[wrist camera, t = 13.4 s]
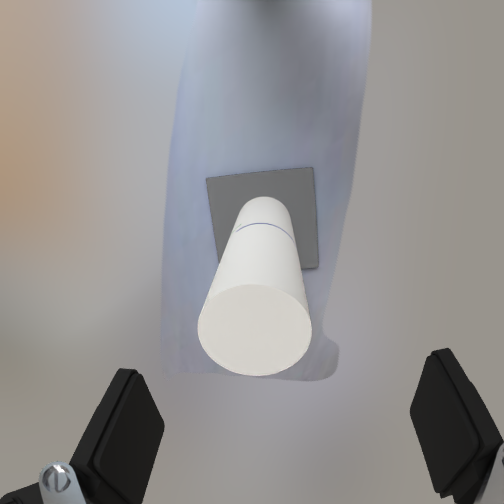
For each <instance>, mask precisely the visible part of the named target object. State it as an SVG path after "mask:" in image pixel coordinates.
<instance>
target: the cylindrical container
mask: <svg viewBox="0 0 504 504" xmlns="http://www.w3.org/2000/svg"><path fill="white" fill-rule="evenodd" d="M311 335H312V328H311V320H310V315H309V309H308V304H307V298H306V293H305V287H304V282H303V277H302V272H301V267H300V262H299V257H298V252H297V247H296V242H295V237H294V232H293V227H292V223H291V218H290V214H289V212H288V210H287V208H286V207H285V206H284V205H283V204H282V203H281V202H280V201H278V200H276V199H274V198H271V197H257V198H254V199H252V200H250V201H248V202H247V203H246V204H245V205H244V206H243V207H242V209H241V211H240V213H239V215H238V218H237V220H236V223H235V225H234V228H233V230H232V233H231V235H230V238H229V240H228V243H227V246H226V248H225V251H224V253H223V256H222V258H221V261H220V264H219V266H218V269H217V271H216V274H215V277H214V279H213V282H212V285H211V287H210V290H209V292H208V295H207V298H206V300H205V303H204V306H203V308H202V311H201V314H200V316H199V321H198V336H199V339H200V342H201V345H202V347H203V348H204V350H205V352H206V353H207V354H208V355H209V356H210V358H211V359H213V360H214V361H215V362H216V363H217V364H219V365H220V366H222V367H224V368H226V369H227V370H230V371H233V372H235V373H238V374H243V375H249V376H263V375H270V374H275V373H278V372H281V371H283V370H285V369H287V368H289V367H291V366H292V365H294V364H295V363H296V362H297V361H298V360H299V359H301V358H302V356H303V355H304V353H305V352H306V351H307V349H308V346H309V344H310V341H311Z"/></svg>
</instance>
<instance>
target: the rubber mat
mask: <svg viewBox="0 0 504 504" xmlns="http://www.w3.org/2000/svg"><path fill="white" fill-rule="evenodd" d="M206 184H207V190H208V197H209V204H210V210H211V217H212V223H213V229H214V236H215V242H216V248H217V254H218V260H219V264H220V261H221V258H222V256H223V253H224V251H225V248H226V246H227V243H228V240H229V238H230V235H231V233H232V230H233V228H234V225H235V223H236V220H237V218H238V215H239V213H240V211H241V209H242V207H243V206H244V205H245V204H246V203H247V202H248V201H250V200H252V199H254V198H257V197H271V198H274V199H276V200H278V201H280V202H281V203H282V204H283V205H284V206H285V207H286V208H287V210H288V212H289V214H290V218H291V223H292V227H293V232H294V237H295V242H296V247H297V252H298V257H299V262H300V267H301V269H305V268H317V267H318V243H317V224H316V207H315V192H314V179H313V168H312V167H310V168H297V169H285V170H274V171H263V172H254V173H244V174H236V175H227V176H219V177H211V178H206Z"/></svg>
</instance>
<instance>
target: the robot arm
mask: <svg viewBox="0 0 504 504" xmlns="http://www.w3.org/2000/svg"><path fill="white" fill-rule="evenodd" d="M410 416H411V419H412V422H413V425H414V428H415V430H416V434H417V436H418V439H419V442H420V445H421V448H422V452H423V455H424V458H425V461H426V464H427V467H428V471H429V474H430V477H431V480H432V484H433V487H434V490H435V492H436V493H440V497H441V498H445V497H447V496H450V495H453V498H454V502H455V504H504V441H503V439H502V437H501V435H500V433H499V431H498V429H497V427H496V425H495V423H494V421H493V419H492V417H491V415H490V413H489V411H488V410H487V408H486V406H485V404H484V402H483V400H482V399H481V397H480V395H479V394H478V392H477V390H476V388H475V386H474V385H473V384H472V382H470V381H469V379H468V377H467V376H466V374H465V372H464V371H463V369H462V367H461V366H460V364H459V362H458V361H457V359H456V358H455V356H454V354H453V353H452V351H451V350H450V349H449V348H445V349H440V350H436V351H432V353H431V355H430V356H428V357H427V358H426V361H425V365H424V368H423V371H422V375H421V378H420V381H419V384H418V387H417V390H416V393H415V396H414V399H413V402H412V404H411V407H410ZM163 432H164V421H163V419H162V417H161V415H160V413H159V411H158V409H157V407H156V405H155V402H154V400H153V398H152V396H151V394H150V392H149V389H148V387H147V385H146V383H145V380H144V378H143V376H142V375H141V374H139V373H138V372H137V370H135V369H122V368H120V369H119V370H118V371H117V372H116V374H115V376H114V378H113V380H112V381H111V383H110V386H109V387H108V389H107V391H106V393H105V395H104V397H103V398H102V400H101V402H100V404H99V406H98V407H97V409H96V410H95V412H94V414H93V416H92V418H91V420H90V422H89V424H88V426H87V428H86V430H85V432H84V434H83V436H82V438H81V440H80V442H79V444H78V446H77V448H76V450H75V452H74V454H73V456H72V458H71V461H70V463H69V464H67V463H64V462H60V461H56V462H52V463H50V464H48V465H46V466H45V467H44V468H43V469H42V471H41V473H40V475H39V482H37V483H35V484H32V485H30V486H27V487H24V488H21V489H19V490H16V491H13V492H10V493H7V494H6V495H4V496H3V497H2V498H1V499H0V504H142V501H143V498H144V495H145V491H146V488H147V485H148V481H149V478H150V475H151V471H152V468H153V464H154V461H155V458H156V455H157V452H158V448H159V445H160V442H161V439H162V436H163Z"/></svg>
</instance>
